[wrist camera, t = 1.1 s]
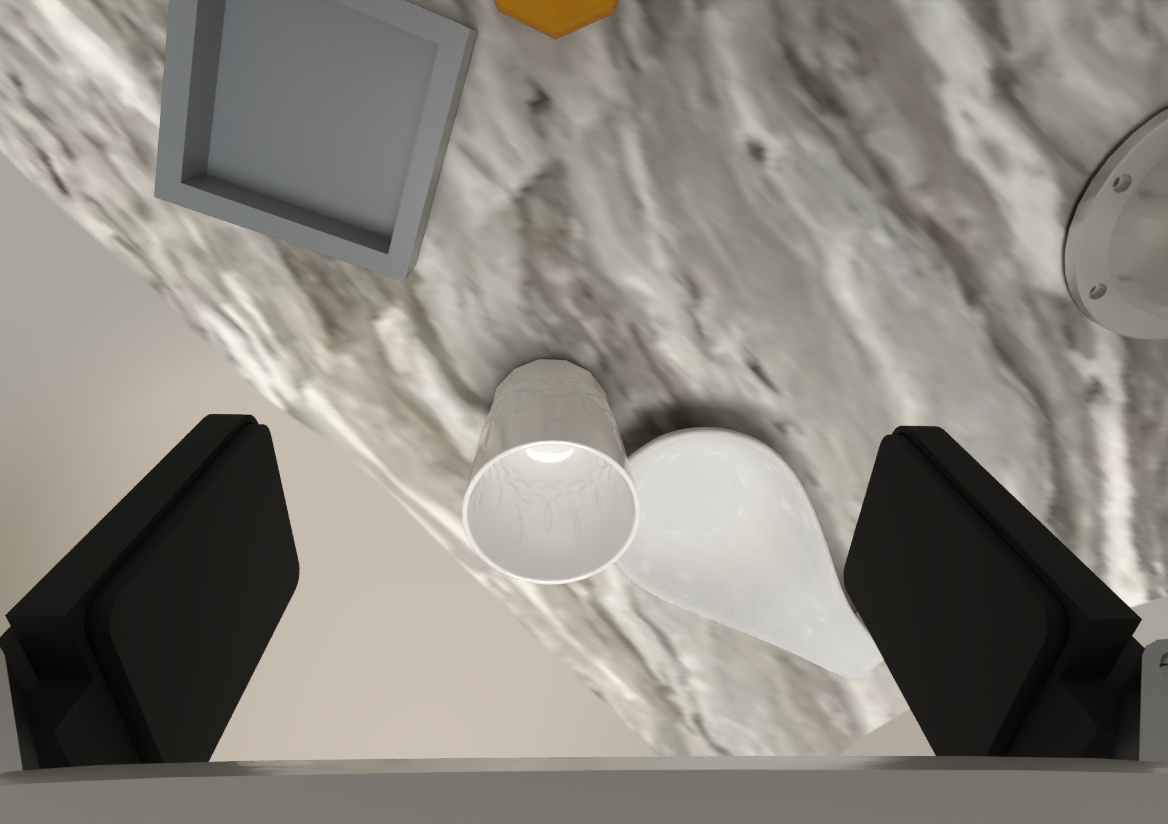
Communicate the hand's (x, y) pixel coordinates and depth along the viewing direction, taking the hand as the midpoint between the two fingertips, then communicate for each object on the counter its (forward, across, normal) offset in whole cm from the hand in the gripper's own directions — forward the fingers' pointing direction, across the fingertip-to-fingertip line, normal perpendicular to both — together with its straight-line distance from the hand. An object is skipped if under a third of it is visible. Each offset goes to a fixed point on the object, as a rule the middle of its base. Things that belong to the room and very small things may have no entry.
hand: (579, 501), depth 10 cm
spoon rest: (+26, -13, +20) cm, 35 cm away
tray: (+25, +11, -4) cm, 27 cm away
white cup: (+25, +1, +12) cm, 28 cm away
